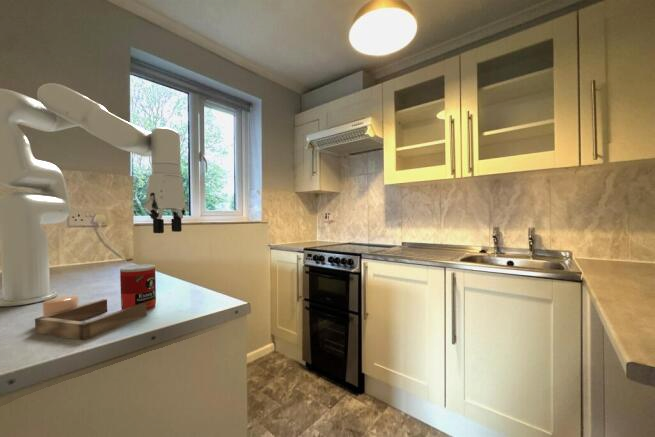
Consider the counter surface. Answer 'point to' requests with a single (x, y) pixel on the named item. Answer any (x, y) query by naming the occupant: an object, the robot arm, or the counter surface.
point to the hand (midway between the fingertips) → (167, 231)
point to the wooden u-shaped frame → (71, 327)
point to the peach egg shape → (59, 304)
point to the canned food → (138, 285)
